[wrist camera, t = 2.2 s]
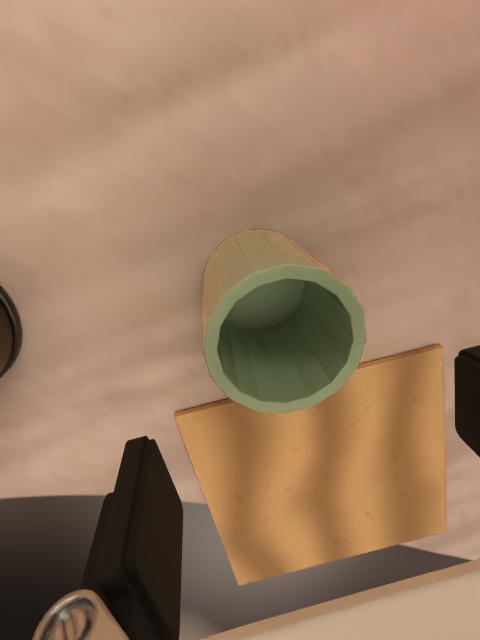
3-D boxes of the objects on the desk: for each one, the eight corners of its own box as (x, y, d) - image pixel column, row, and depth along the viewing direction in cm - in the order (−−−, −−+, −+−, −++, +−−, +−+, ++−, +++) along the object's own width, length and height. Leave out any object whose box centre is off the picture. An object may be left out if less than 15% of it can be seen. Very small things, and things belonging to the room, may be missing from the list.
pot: (299, 216, 23) (356, 245, 15) (317, 318, 26) (372, 391, 17) (189, 244, 23) (183, 290, 15) (218, 343, 26) (227, 429, 17)
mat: (438, 343, 27) (443, 347, 27) (442, 526, 35) (446, 532, 35) (174, 412, 27) (174, 417, 27) (238, 579, 35) (238, 586, 35)
